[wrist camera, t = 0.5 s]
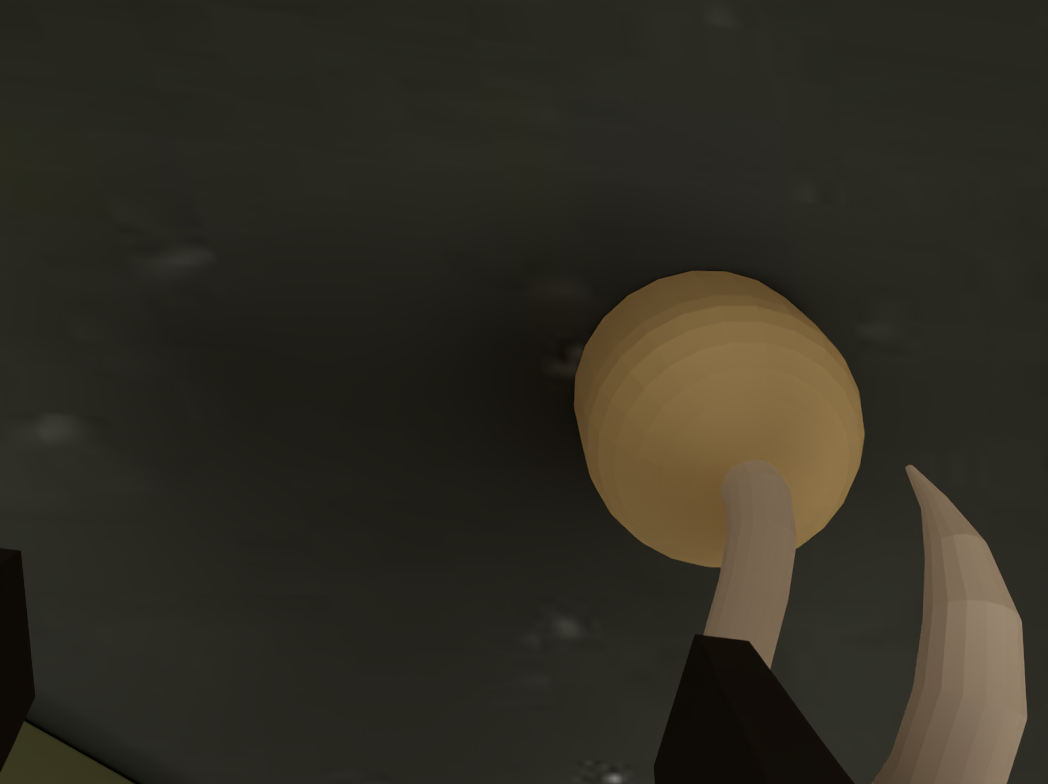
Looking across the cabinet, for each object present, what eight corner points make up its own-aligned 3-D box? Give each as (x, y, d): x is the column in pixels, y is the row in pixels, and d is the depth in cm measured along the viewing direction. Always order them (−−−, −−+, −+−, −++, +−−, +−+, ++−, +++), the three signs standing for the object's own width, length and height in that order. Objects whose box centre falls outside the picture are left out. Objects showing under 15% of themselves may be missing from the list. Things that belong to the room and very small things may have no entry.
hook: (641, 229, 19) (859, 510, 8) (869, 329, 20) (1366, 714, 8) (517, 486, 21) (546, 1018, 10) (730, 568, 22) (988, 1144, 10)
